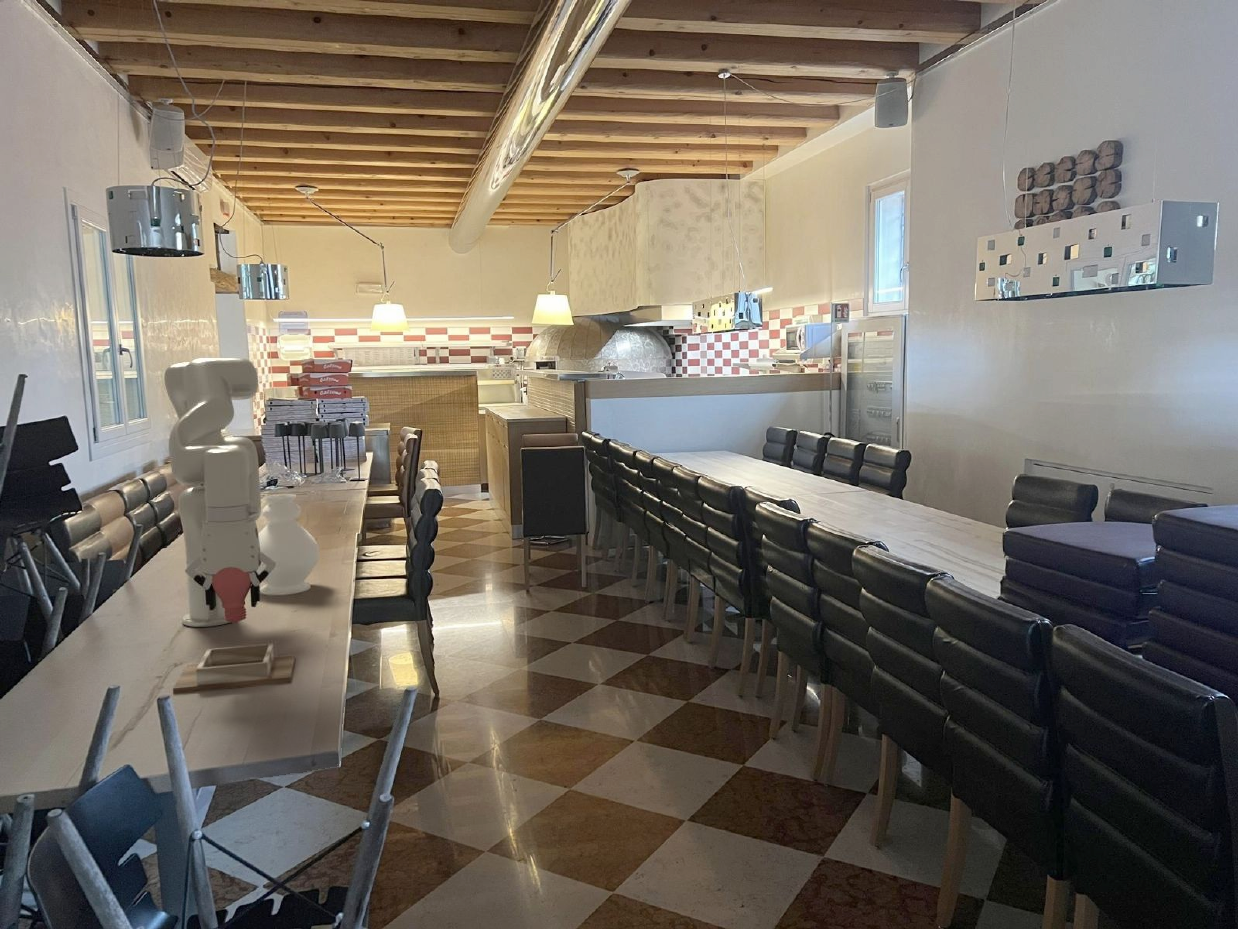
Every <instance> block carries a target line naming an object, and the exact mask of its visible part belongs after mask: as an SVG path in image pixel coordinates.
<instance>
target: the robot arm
mask: <svg viewBox="0 0 1238 929" xmlns="http://www.w3.org/2000/svg"><path fill="white" fill-rule="evenodd" d="M163 378H164V386H165V389H166V394H167V395H168V398H169V400H170V402H171V405H172V406H173V409H174V410H175V412H176V415H177V418H178V420H177V421H176V423H175V424H174V426H173V427H172V428H171V431H170V434H169V439H168V453H169V460H170V468H171V472H172V476H173V478H174V480H175V481H176V482H177V483H179V484H181V485H183V486H192V487H189V488H186V489H184V490H183V491H182V492H180V493H179V494H180V495H179V496H178V501H177V507H178V514H179V517H180V523H181V525H182V526H181V527H182V532H183V539H184V548H185V550H184V552H185V564H186V569H185V570H184V572H185V573H186V580H187V581H186V582H187V583H186V584H187V596H188V609H189V610H188V613H187V614H184V615H183V616H182V618H181V620H182V621H181V622H182V624H183V625H185V626H188V627H196V628H199V627H200V628H201V627H202V628H204V627H205V628H206V627H216V626H220V625H221V626H222V625H226V624H230V623H231V622H227V621H226V618H225V617H226V616H225V613H224V612H225V609H224V608H223V607H222V601H221V600H220V598H219V597H218V595H217V594H216V592H215V590H214V588H213V586H212V578H213V575H215V574H216V573H217V572H218V571H220V570H221V569H224V568H227V567H235V568H238V569H241V570H242V571H244V572H245V573H249V576H250V580H251V582H252V585H251V587H250V590H249V593H250V608H251V607H252V608H256V607H257V605H258V602H260V601H261V592H260V588H261V587H260V585H261V584H262V582H263V580H264V579H265V578H266V577H267V576H268V575H269V574H270V572H271V571H272V570H273V569H274V568H275V567H276V562H275V561H273V560H272V559H271V558H269V557H268V556H266V555H265V554H264V553H262V552H261V551H260V543H259V535H258V534H259V530H258V526H257V523H256V521H258V519H259V518H260V517H261V514H262V513H261V512H262V498H261V496H262V495H261V494H262V493H261V483H260V482H261V480H260V466H259V457H258V451H257V446H256V445H255V443H254V442H253V440H251V439H250V438H248V437H246V436H233V437H232V436H229V437H224V436H223V435H222V430H223V429H224V428H226V427H228V426H229V425H230V424H231V422H232V421H233V419H234V416H235V409H234V405H233V401H240V400H241V401H242V400H248V399H251V398H253V397H254V396H255V395H256V394H257V392H258V389H259V377H258V373H257V370H256V367H255V365H254V363H253V362H251V360H249V359H247V358H242V357H238V358H237V357H236V358H235V357H230V358H229V357H224V358H223V357H221V358H220V357H219V358H217V357H216V358H215V357H213V358H211V357H209V358H205V357H204V358H197V359H194V360H192V361H190V362H181V363H180V362H179V363H175V364H172V365H170V366H169V367H167V368H166V369H165V371H164V377H163ZM193 485H194V486H193ZM196 485H197V486H196ZM261 562H263V563H264V564H265V565H266V568H265V569H264V570H263V571H262V572H261V573H260V574H258V573H257V570H258V567H259V566H260V565H261Z"/></svg>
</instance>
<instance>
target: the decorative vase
mask: <svg viewBox="0 0 1238 929" xmlns="http://www.w3.org/2000/svg"><path fill="white" fill-rule="evenodd" d="M295 499H297V495H296V494H294V493H277V494H270V495H266V496H265V500H266V501H268V502H269V503H268V504H266V505H264V507H263V509H262V510H261V512H262V513H261V514H262V516H263V517H264V518H265V519H267V521H268V523H267V524H266V525H265V526H264V527H263V528H262V529H261V530H260V531H259V532H258V535H259V543H260V551H261V552H262V553H264V554H265V555H266V556H268V557H269V558H271V559H272V560H273V561H275V562H276V567H275V568H274V569H273V570H272V571H271V572H270V574H269V575H268V576H267V577H266V578H265V579H264V580H263V581H262V582H263V583H264V584H265V585H263V586H261V587H260V594H263V595H267V596H286V595H288V596H289V595H295V594H300V593H303V592H306V591H308V590H310V589H311V588H312V587H311V583H310V582H306V580H307V578H308V576H310V574H311V573H312V571H313V570H314V568H315V567H316V566H317V564H318V562H319V560H320V553H321V552H320V548H319V545H318V543H317V541H316V539H315V538H314V537H313V535H312V534H310V532H309V531H308V530H307V529H305V527H303V526H302V524H300V523H299V522H297V521H296V519H297V518H299V516H300V515H301V512H302V509H301V506H300V505H298V503H297V502H294V500H295ZM265 568H266V565H265V564H264V563H263V562H261V565H260V566H259V567H258V570H257V573H258V574H260V573H261V572H262V571H263V570H264V569H265Z"/></svg>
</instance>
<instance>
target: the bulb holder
mask: <svg viewBox="0 0 1238 929" xmlns="http://www.w3.org/2000/svg"><path fill="white" fill-rule="evenodd" d="M274 646H275V645H274V643H261V644H260V643H259V644H252V645H251V644H250V645H238V646H226V647H217V648H216V647H215V648H207V649H206V651H205V653H204V655H203V656H202V659H200V663H193V664H187V665H186V666H185V668H184V669H183V671H182V672H181V674H180V675H179V678H177V681H176V682H175V684H174V686H173V687H172V694H173V695H174V694H183V693H184V694H185V693H192V692H193V693H195V692H207V691H214V690H215V691H217V690H226V689H235V688H245V687H256V686H266V685H268V686H269V685H278V684H287V683H291V680H292V676H293V672H294V668H295V664H296V661H297V660H296V659H297V658H296V655H295V654H294V655H284V656H275V652H274V651H275V647H274Z"/></svg>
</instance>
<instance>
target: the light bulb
mask: <svg viewBox="0 0 1238 929" xmlns="http://www.w3.org/2000/svg"><path fill="white" fill-rule="evenodd" d="M251 585H252V582H251V580H250V576H249V573H245V572H244V571H242V570H241V569H238V568H235V567H227V568H224V569H221V570H220V571H218V572H217V573H216V574H215V575H213V578H212V586H213V588H214V590H215V592H216V594H217V595H218V597H219V598H220V600H221V601H222V607H223V608H224V609H225V612H224V613H225V616H226V617H225V618H226V621H227V622H230V623H232V624H233V623H234V624H237V623H239V622H242V621H244V620H246V619H247V614H246V613H247V609H246V608H245V605H246V598H247V596H248V594H249V593H250V587H251Z"/></svg>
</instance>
